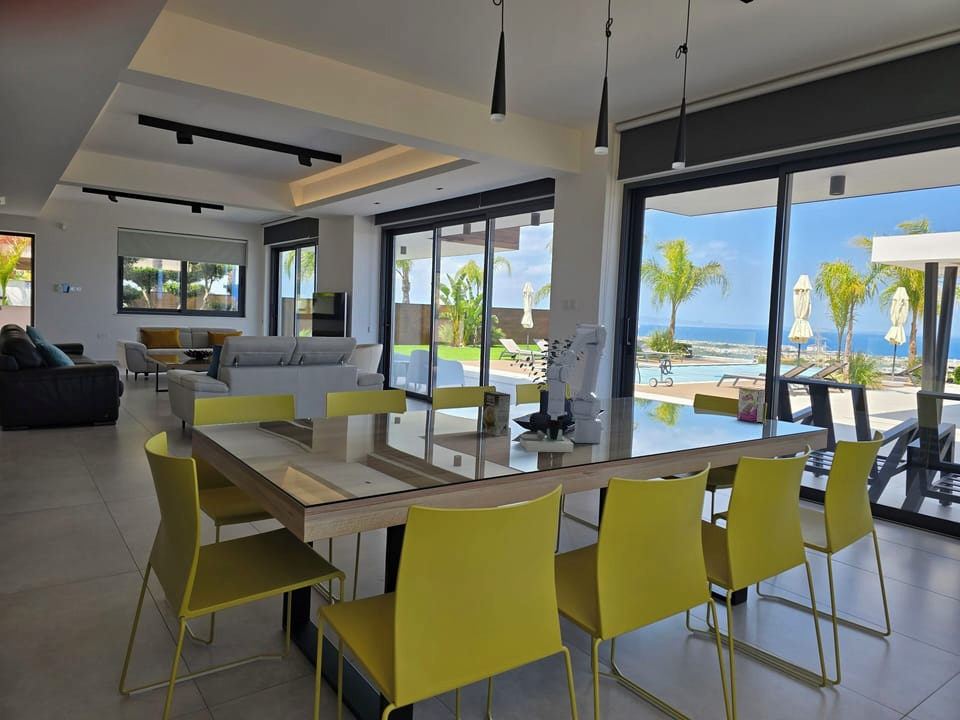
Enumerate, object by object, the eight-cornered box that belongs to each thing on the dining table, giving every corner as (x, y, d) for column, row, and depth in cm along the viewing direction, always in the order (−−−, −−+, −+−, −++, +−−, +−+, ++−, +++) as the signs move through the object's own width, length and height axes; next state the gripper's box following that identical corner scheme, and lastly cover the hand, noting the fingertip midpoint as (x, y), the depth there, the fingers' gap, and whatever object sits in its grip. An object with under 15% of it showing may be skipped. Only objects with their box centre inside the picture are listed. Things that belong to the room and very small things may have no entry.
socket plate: (562, 444, 229) (563, 436, 229) (572, 452, 215) (573, 443, 215) (519, 443, 227) (520, 435, 227) (527, 451, 213) (527, 442, 213)
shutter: (540, 436, 224) (540, 430, 224) (544, 440, 217) (544, 434, 217) (519, 436, 224) (519, 430, 223) (523, 440, 216) (523, 433, 216)
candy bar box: (736, 419, 313) (738, 386, 312) (743, 419, 316) (745, 386, 315) (756, 423, 303) (758, 389, 302) (762, 422, 306) (765, 389, 305)
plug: (551, 446, 224) (552, 428, 224) (561, 447, 222) (562, 429, 222) (546, 447, 221) (547, 429, 221) (556, 449, 219) (557, 431, 219)
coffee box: (481, 432, 246) (483, 391, 245) (494, 431, 250) (496, 390, 249) (496, 436, 239) (498, 394, 238) (509, 435, 243) (511, 393, 242)
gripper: (566, 402, 213) (564, 442, 213) (569, 397, 227) (567, 434, 228) (545, 401, 214) (543, 440, 215) (549, 396, 228) (547, 433, 229)
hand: (554, 437), depth 221 cm, fingers open, 7 cm apart
